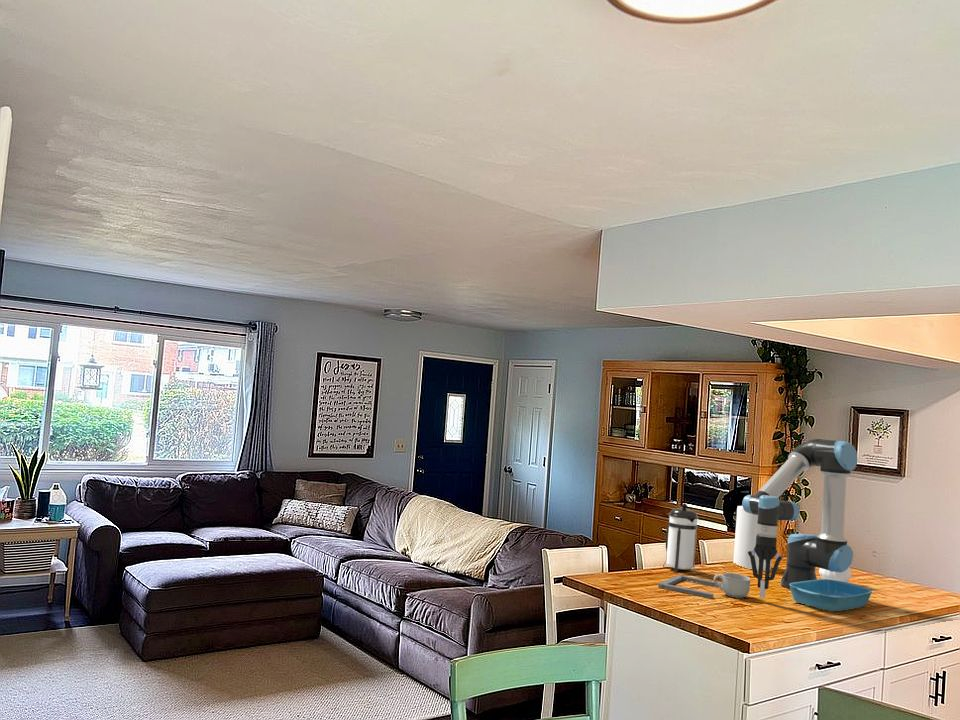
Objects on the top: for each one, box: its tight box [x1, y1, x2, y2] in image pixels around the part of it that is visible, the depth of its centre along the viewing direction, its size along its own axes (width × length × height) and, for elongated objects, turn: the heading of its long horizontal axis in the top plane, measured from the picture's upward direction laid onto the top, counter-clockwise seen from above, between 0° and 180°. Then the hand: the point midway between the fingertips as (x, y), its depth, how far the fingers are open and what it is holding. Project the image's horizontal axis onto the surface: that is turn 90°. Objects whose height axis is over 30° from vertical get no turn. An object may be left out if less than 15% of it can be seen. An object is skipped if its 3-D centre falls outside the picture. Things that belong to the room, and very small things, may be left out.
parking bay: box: [657, 574, 722, 599], centre depth 317 cm, size 21×26×2 cm
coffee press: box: [662, 502, 699, 573], centre depth 354 cm, size 17×16×30 cm
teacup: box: [712, 572, 751, 599], centre depth 310 cm, size 14×11×8 cm
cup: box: [818, 566, 852, 583], centre depth 356 cm, size 13×13×14 cm
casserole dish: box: [789, 578, 873, 612], centre depth 310 cm, size 37×22×7 cm, turn 128°
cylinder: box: [732, 505, 773, 572], centre depth 378 cm, size 17×17×28 cm
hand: (762, 596), depth 303 cm, fingers closed
